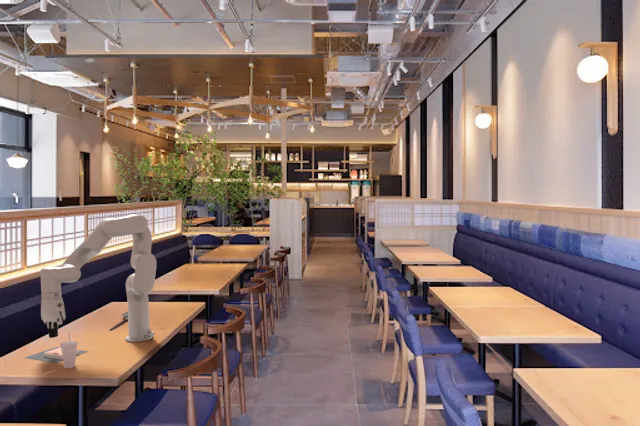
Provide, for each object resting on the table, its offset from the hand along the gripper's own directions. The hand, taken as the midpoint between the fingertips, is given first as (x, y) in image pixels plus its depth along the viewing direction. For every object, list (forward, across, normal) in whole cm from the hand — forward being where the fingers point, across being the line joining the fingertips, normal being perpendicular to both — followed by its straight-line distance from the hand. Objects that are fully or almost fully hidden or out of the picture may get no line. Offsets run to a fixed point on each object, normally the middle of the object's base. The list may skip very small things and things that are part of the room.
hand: (53, 336), depth 211 cm
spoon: (+9, +14, -52) cm, 55 cm away
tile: (+7, +1, 0) cm, 7 cm away
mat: (+8, -2, 0) cm, 8 cm away
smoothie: (+8, -20, +8) cm, 23 cm away
